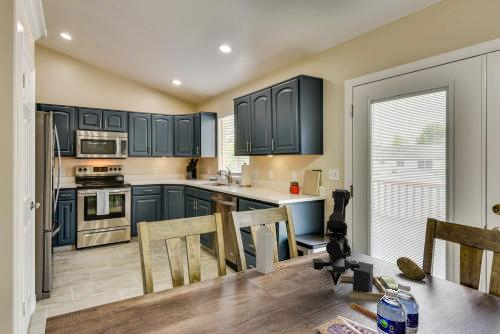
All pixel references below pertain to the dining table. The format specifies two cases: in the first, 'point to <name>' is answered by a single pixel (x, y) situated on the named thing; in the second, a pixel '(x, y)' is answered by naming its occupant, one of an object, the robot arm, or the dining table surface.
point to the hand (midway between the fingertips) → (335, 284)
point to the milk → (264, 250)
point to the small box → (363, 278)
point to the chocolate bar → (364, 311)
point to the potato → (410, 268)
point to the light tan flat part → (380, 282)
